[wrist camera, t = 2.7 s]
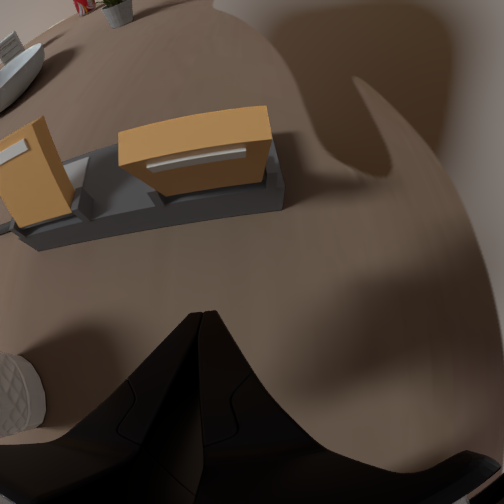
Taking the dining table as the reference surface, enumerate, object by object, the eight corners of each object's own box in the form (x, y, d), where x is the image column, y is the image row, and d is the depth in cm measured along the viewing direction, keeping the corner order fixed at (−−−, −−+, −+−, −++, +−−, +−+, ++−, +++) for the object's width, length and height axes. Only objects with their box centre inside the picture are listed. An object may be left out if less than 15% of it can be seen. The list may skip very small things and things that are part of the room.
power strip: (282, 211, 20) (287, 171, 16) (-9, 263, 19) (-38, 247, 15) (266, 141, 23) (267, 99, 18) (3, 207, 22) (-21, 187, 17)
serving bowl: (-10, 106, 35) (-22, 89, 29) (53, 55, 39) (44, 35, 32) (-24, 148, 28) (-41, 129, 22) (52, 81, 32) (38, 55, 26)
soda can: (85, 15, 51) (76, -9, 40) (76, 18, 52) (67, -5, 41) (100, 7, 53) (93, -17, 42) (90, 10, 55) (82, -13, 43)
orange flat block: (264, 186, 17) (278, 141, 10) (165, 200, 17) (114, 170, 9) (260, 161, 17) (271, 104, 10) (163, 176, 17) (114, 133, 9)
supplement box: (10, 70, 43) (-4, 45, 31) (28, 55, 45) (15, 29, 33) (9, 75, 41) (-7, 48, 29) (28, 59, 42) (13, 31, 31)
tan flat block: (77, 219, 16) (32, 124, 11) (21, 235, 16) (-22, 158, 10) (84, 205, 17) (45, 114, 12) (29, 221, 17) (-10, 147, 12)
